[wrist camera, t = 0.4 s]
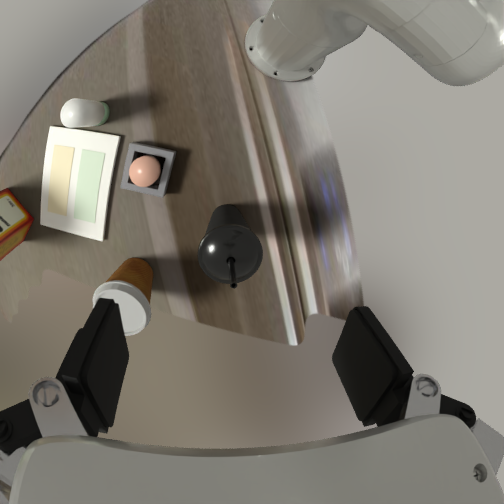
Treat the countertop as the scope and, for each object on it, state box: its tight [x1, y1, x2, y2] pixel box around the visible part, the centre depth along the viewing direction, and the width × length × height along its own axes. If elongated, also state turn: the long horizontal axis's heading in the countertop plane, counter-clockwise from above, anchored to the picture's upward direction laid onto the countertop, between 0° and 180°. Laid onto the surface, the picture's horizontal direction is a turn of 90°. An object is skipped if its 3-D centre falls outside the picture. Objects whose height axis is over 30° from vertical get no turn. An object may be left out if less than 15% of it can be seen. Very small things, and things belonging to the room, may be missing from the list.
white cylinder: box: [61, 98, 110, 128], centre depth 30 cm, size 4×4×9 cm
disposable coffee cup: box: [93, 258, 153, 335], centre depth 41 cm, size 10×10×12 cm
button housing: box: [121, 142, 176, 198], centre depth 38 cm, size 7×7×2 cm
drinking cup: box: [198, 205, 263, 288], centre depth 36 cm, size 8×8×20 cm
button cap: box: [129, 155, 161, 187], centre depth 37 cm, size 4×4×2 cm
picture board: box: [40, 126, 121, 241], centre depth 38 cm, size 18×14×1 cm
